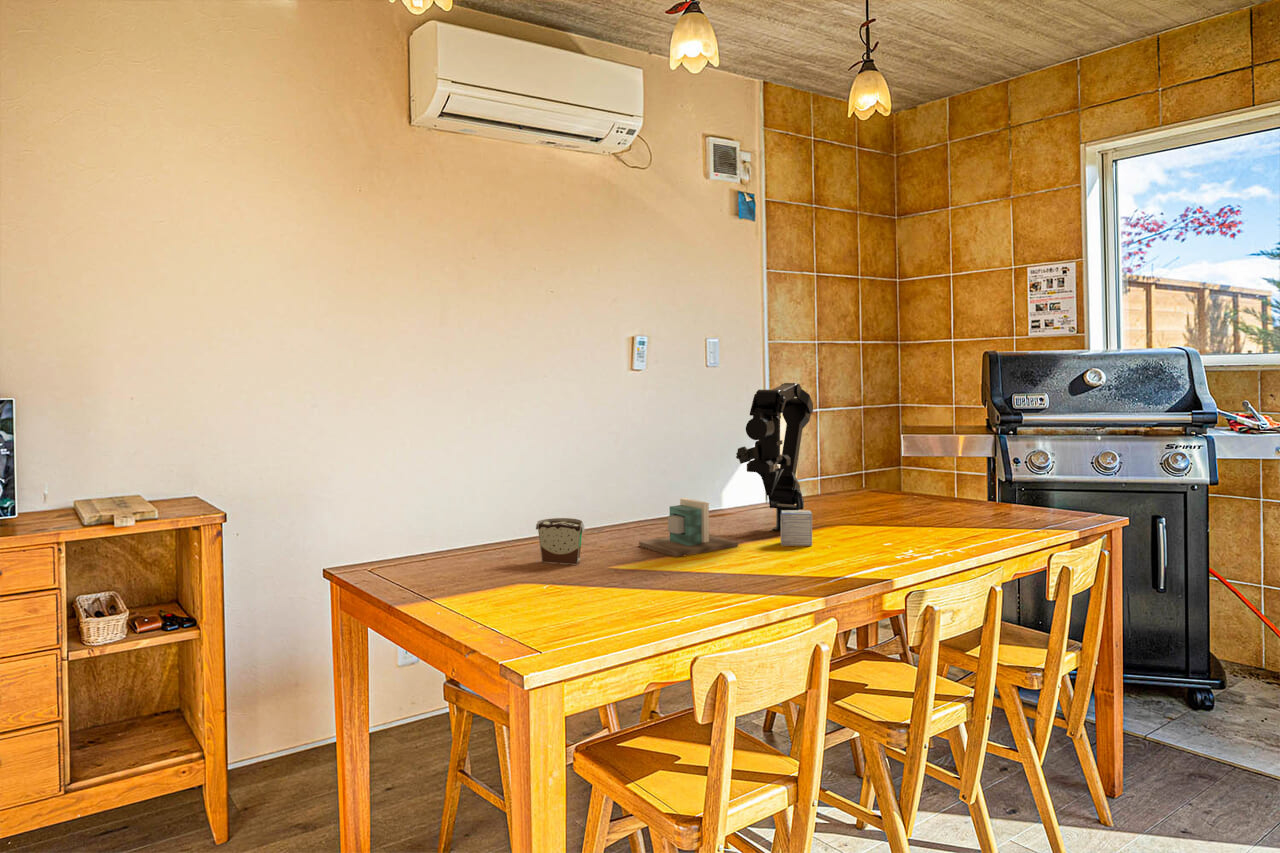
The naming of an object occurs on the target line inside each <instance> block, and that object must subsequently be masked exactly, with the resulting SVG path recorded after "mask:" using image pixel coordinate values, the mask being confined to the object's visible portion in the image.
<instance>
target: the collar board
mask: <svg viewBox="0 0 1280 853" xmlns="http://www.w3.org/2000/svg"><path fill="white" fill-rule="evenodd" d="M672 515H682V516H685V533H680V534H676V533H672V532H669V536H666V537H660V538H659V537H658V538H652V539H646V540H640V541H638V546H639V547H641V548H644V547H645V548H644V549H647V548H648V549H647V550H650V549H651V550H652V551H654V550H655V551H654V552H657V551H658V553H660V552H661V554H664V553H665V554H664V555H667V554H668V556H670V555H672V556H671V557H673V556H675V557H674V558H679V557H678V556H681V557H685V556H684V555H687V556H691V555H690V554H692V555H697V554H696V553H698V554H702V552H704V553H709V552H708V551H710V552H714V551H713V550H715V551H720V550H719V549H721V550H726V549H725V548H727V549H731V548H730V547H732V548H737V547H736V546H738V547H739V541H736V540H734V539H733V540H732V539H728V538H723V537H720V536H716V535H711V534H709V542H701V509H698V508H694V507H689V506H685V505H680V504H678V505H670V506H669V516H672Z"/></svg>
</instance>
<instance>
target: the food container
mask: <svg viewBox="0 0 1280 853" xmlns="http://www.w3.org/2000/svg"><path fill="white" fill-rule="evenodd" d="M535 530H537V531H538V540H539V548H540V549H539V550H540V555H541V556H540V558H541V563H542V562H549V563H548V564H555V563H560V565H568V564H572V565H573V566H578V564H579V565H580V561H581V548H582V537H583V533H584V532H585V531H586V528H585V525H584V522H583V521H582V519H577V518H568V517H555V518H545V519H540V520H537V523H536V525H535ZM572 565H571V566H572Z"/></svg>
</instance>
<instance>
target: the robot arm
mask: <svg viewBox="0 0 1280 853" xmlns="http://www.w3.org/2000/svg"><path fill="white" fill-rule="evenodd" d="M813 412H814V403H813V401H812V398H811V395H810V394H809V393H808V392H807V391H805V390H804V389H802V387H801V384H800V383H797V382H784V383H781V385H779V386H776V387H775V388H772V389H757V391H756V392H755V394H754V395H753V398H752V403H751V407H750V410H749V416H750V417H751V416H752V418H751V419H749V421H748V420H747V421H748V422H747V423H746V426H745V432H746V434H747V437H749V438H750V439H752V440H753V441H755V442H754V447H753V446H752V447H750V448H747V447H746V446H745V445H744V446H741V447H739V448H737V452H736V456H735V458H736V459H737V460H738V461H739V464H740V465H742V464H745V463H747V464H746V472H747V473H756V474H758V475H759V476H760V477H761V480H762V483H763V487H764V491H765V494H766V496H768V503H769V509H776V510H775V512H776V514H775V515H776V516H775V518H776V522H775V523H776V524H775V525H776V526H774V527H773V528H772V529H771V530H772V531H776V532H781V510H805V509H804V507H805V499H804V497H803V494H802V491H801V485H800V483H799V481H798V478H797V476H796V475H797V469H798V461H799V455H800V449H801V442H802V435H803V429H804V428H805V427H806V426H807V425H808V423H809V422H810V419H811V417H812V416H811V415H812V414H813ZM781 414H782V415H781ZM782 418H783V419H784V421H785V423H786V425H785V431H784V433H785V434H784V439H783V440H782V439H781V419H782ZM781 445H782V452H781ZM779 465H780V466H779Z"/></svg>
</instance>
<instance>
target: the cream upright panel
mask: <svg viewBox="0 0 1280 853" xmlns="http://www.w3.org/2000/svg"><path fill="white" fill-rule="evenodd" d="M679 505H685V506H689V507H694V508H698V509H701V542H709V535H710V527H709V525H710V522H709V521H710V517H709V516H710V514H709V511H710V508H709V506H710V502H705V501H701V500H696V499H691V498H685V497H682V498H680V499H679ZM667 532H669V533H670V532H672V533H676V534H680V533H685V516H682V515H672V516H670V515H668V516H667Z"/></svg>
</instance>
